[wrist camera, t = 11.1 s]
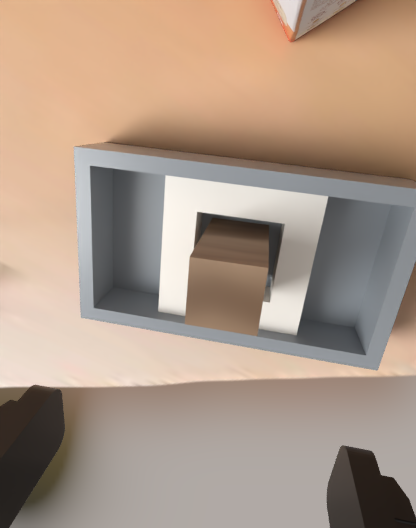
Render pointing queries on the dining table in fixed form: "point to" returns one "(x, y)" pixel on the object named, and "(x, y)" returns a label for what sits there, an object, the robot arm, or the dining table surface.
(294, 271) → the walled box
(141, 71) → the dining table surface
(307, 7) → the cracker box
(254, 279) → the peg
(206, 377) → the dining table surface
